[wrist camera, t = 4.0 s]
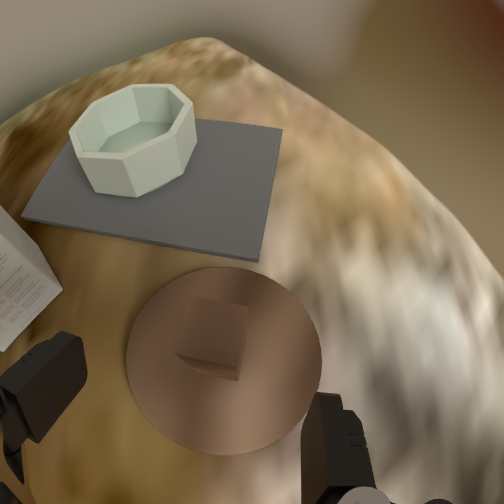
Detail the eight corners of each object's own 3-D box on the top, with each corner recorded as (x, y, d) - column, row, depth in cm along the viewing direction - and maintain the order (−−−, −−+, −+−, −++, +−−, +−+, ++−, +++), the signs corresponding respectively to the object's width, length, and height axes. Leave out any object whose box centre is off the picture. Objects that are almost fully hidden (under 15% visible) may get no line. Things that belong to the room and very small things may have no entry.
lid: (326, 289, 21) (367, 226, 14) (301, 465, 15) (341, 498, 8) (158, 259, 22) (126, 187, 15) (113, 423, 16) (44, 425, 9)
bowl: (206, 126, 27) (203, 85, 23) (172, 207, 23) (160, 162, 19) (118, 122, 28) (107, 85, 24) (72, 193, 23) (50, 156, 19)
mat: (282, 133, 28) (282, 129, 28) (257, 262, 21) (258, 259, 21) (87, 119, 29) (86, 116, 29) (23, 219, 23) (20, 216, 22)
